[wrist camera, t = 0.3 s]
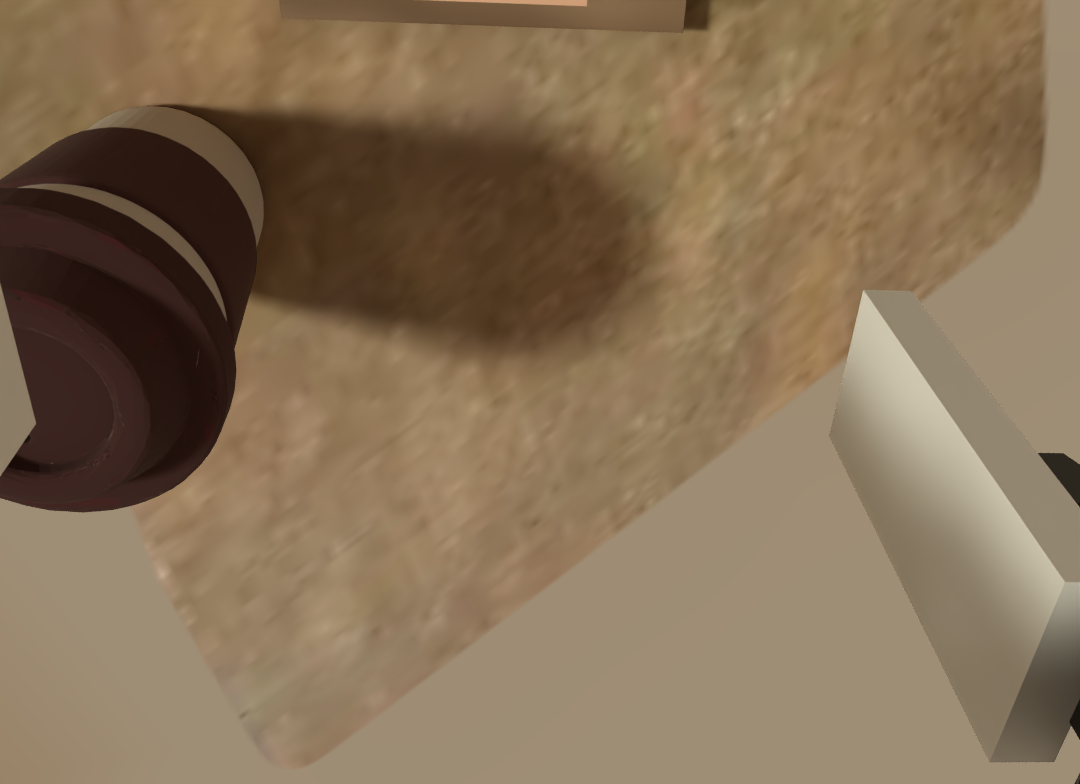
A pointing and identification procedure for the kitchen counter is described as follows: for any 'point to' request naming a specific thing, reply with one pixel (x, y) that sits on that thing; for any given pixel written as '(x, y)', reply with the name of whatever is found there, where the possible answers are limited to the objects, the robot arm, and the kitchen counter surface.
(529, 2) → the tile three
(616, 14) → the key board
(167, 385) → the coffee cup
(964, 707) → the robot arm
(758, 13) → the kitchen counter surface
